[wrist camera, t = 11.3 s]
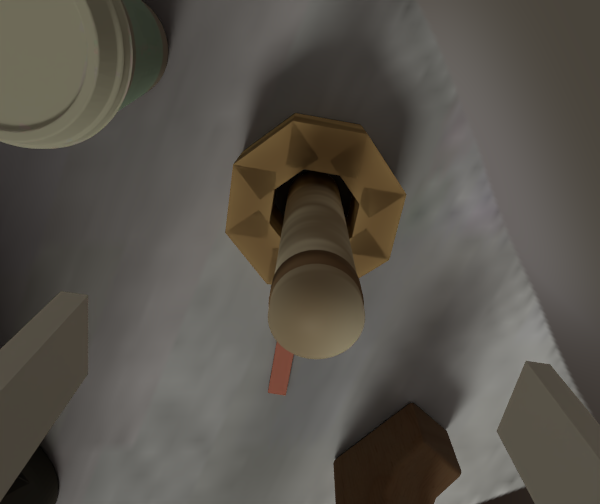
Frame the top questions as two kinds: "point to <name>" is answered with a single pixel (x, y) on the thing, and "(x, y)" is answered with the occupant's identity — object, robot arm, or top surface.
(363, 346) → the top surface
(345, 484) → the wooden block
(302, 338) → the wooden dowel
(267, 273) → the tan faceted ring
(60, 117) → the coffee cup
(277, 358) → the brown thin rod
